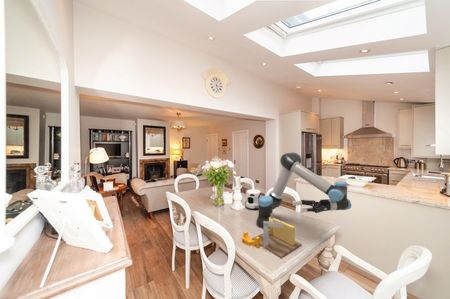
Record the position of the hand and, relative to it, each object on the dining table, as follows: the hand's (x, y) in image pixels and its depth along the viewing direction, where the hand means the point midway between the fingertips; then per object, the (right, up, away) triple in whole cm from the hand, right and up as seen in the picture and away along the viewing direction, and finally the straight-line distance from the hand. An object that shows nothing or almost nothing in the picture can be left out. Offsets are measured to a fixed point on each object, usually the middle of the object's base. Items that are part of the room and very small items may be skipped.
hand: (297, 206), depth 119 cm
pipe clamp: (-32, -27, +1) cm, 41 cm away
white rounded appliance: (-19, -24, +69) cm, 75 cm away
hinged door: (-10, -24, +5) cm, 27 cm away
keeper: (-18, -26, -3) cm, 32 cm away
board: (-14, -26, +2) cm, 30 cm away
